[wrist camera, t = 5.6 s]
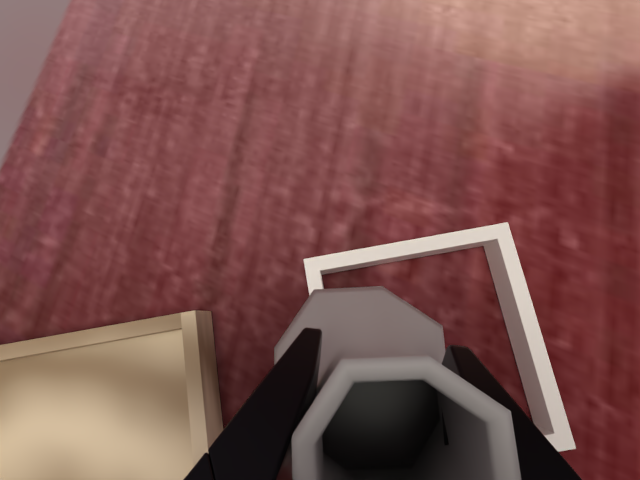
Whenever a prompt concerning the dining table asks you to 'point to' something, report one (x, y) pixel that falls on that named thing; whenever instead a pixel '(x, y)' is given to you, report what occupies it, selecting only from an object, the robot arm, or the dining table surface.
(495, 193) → the dining table surface
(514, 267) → the white square frame
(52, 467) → the serving tray
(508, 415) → the flask
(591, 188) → the dining table surface
